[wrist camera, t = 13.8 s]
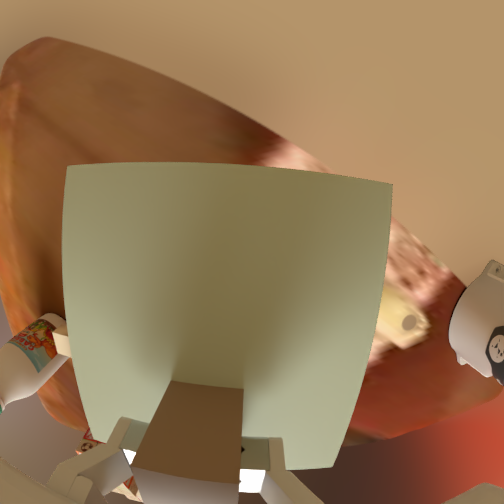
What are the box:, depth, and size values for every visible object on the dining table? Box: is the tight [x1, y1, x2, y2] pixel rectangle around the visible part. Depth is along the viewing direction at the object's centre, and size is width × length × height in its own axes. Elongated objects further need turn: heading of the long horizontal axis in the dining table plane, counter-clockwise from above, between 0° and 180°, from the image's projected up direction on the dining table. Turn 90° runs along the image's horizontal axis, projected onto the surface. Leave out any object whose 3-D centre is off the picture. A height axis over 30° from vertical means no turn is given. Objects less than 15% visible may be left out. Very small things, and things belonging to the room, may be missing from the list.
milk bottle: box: [0, 313, 69, 414], centre depth 26 cm, size 8×8×20 cm
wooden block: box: [52, 325, 72, 358], centre depth 25 cm, size 9×3×2 cm, turn 86°
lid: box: [62, 162, 393, 504], centre depth 8 cm, size 13×14×6 cm
